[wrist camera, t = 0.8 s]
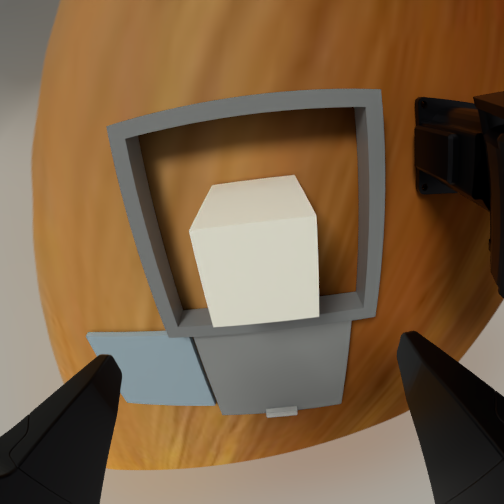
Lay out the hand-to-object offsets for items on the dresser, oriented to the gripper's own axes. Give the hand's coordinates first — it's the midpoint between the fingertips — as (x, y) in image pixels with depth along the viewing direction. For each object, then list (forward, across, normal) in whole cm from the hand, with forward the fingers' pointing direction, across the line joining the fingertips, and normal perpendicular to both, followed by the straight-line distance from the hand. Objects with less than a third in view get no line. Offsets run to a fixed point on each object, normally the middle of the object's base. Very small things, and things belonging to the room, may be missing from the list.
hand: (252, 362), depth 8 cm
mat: (+12, +11, +14) cm, 21 cm away
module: (+12, 0, 0) cm, 12 cm away
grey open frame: (+12, 0, +6) cm, 13 cm away
